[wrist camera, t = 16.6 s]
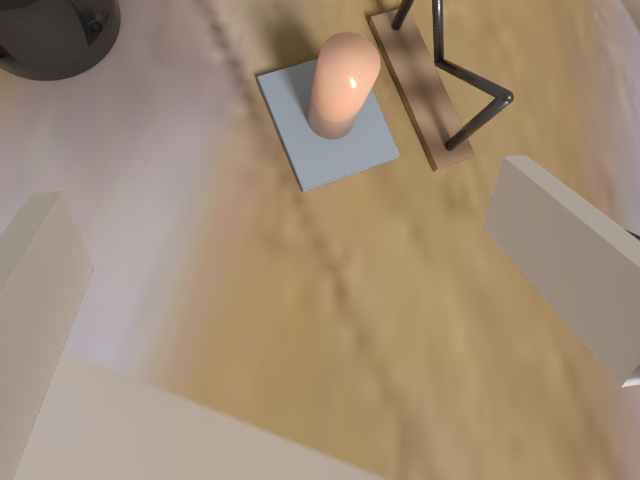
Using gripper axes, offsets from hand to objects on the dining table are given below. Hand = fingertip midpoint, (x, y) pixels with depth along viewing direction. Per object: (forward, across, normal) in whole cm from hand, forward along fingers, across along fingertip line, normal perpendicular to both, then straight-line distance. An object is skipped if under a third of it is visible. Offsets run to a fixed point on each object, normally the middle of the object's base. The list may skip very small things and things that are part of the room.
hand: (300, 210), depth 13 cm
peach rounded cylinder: (+35, +8, -10) cm, 37 cm away
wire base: (+38, +20, -9) cm, 43 cm away
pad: (+35, +8, -11) cm, 38 cm away
